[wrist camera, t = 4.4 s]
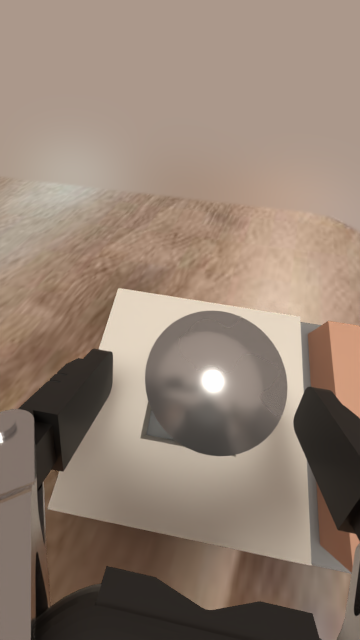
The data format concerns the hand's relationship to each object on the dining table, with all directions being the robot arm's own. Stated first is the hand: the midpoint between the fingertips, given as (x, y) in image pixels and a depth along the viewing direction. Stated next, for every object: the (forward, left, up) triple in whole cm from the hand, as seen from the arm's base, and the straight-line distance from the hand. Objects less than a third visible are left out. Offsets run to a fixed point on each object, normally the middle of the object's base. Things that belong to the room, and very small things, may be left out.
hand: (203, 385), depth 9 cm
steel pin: (0, 0, -6) cm, 6 cm away
